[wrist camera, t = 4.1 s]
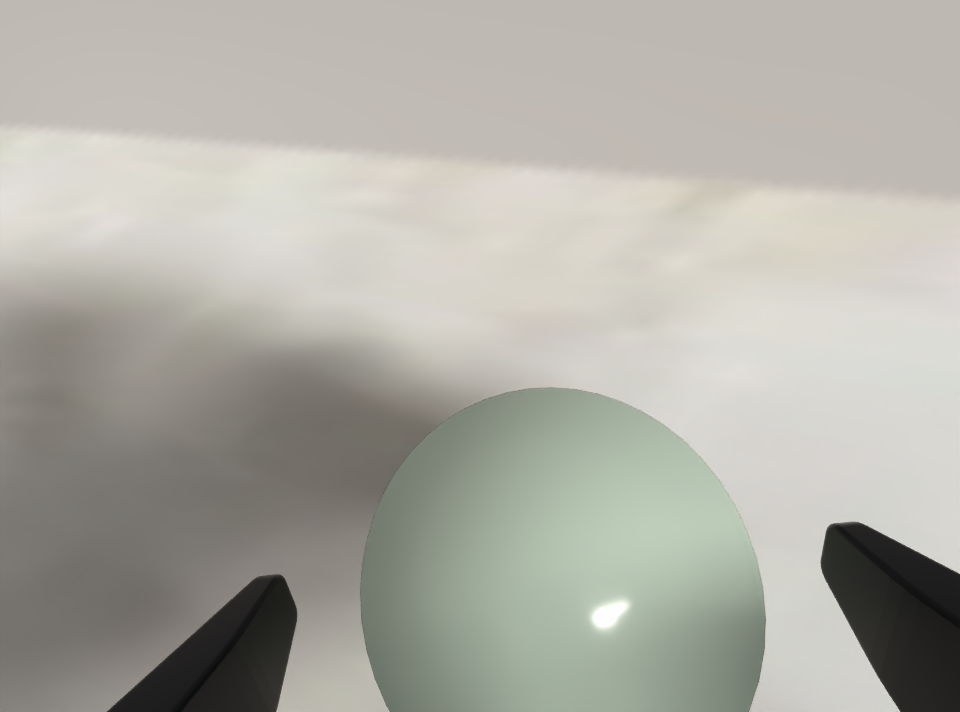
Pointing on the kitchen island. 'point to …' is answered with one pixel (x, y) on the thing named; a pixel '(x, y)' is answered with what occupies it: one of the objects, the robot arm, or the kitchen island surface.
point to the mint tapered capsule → (560, 567)
